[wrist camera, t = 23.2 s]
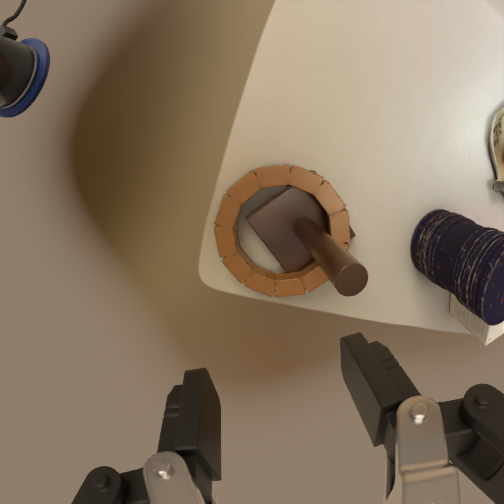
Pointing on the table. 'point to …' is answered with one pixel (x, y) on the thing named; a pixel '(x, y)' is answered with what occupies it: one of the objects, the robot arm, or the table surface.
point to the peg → (306, 239)
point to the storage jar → (462, 261)
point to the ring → (230, 243)
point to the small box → (475, 322)
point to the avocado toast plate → (497, 148)
